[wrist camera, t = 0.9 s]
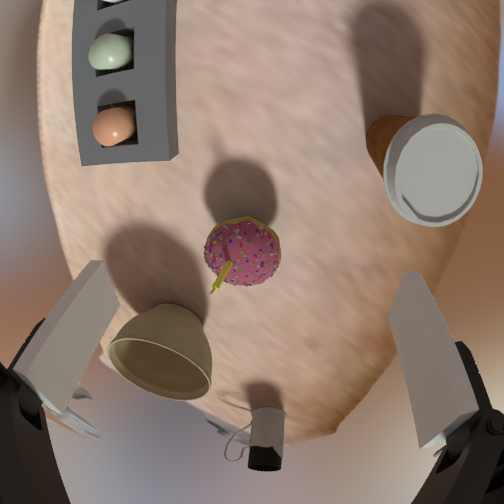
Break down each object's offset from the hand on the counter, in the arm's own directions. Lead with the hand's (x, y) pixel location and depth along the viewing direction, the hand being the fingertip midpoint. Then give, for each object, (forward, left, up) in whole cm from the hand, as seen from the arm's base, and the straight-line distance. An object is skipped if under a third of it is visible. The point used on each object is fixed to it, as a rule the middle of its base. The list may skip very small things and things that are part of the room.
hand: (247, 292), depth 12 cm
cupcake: (+10, -2, -22) cm, 25 cm away
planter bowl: (+28, -14, -22) cm, 38 cm away
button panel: (-13, -16, -22) cm, 30 cm away
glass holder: (+61, +1, -22) cm, 65 cm away
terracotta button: (-5, -16, -21) cm, 27 cm away
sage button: (-13, -16, -21) cm, 29 cm away
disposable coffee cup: (-3, +14, -22) cm, 26 cm away
